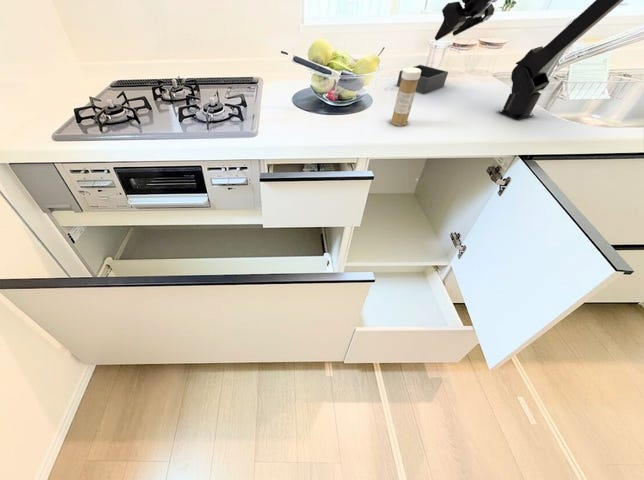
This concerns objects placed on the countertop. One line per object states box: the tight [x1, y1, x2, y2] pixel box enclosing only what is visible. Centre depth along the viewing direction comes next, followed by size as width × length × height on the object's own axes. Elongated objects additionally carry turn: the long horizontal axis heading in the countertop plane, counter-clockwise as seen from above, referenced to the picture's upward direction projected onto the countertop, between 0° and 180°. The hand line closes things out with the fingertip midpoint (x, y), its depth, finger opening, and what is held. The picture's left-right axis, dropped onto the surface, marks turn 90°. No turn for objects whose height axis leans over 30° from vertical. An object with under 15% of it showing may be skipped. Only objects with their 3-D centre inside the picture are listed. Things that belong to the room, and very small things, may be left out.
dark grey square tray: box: [396, 64, 449, 95], centre depth 111 cm, size 11×11×4 cm
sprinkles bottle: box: [390, 66, 421, 127], centre depth 88 cm, size 5×5×14 cm
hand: (444, 36), depth 101 cm, fingers open, 9 cm apart
